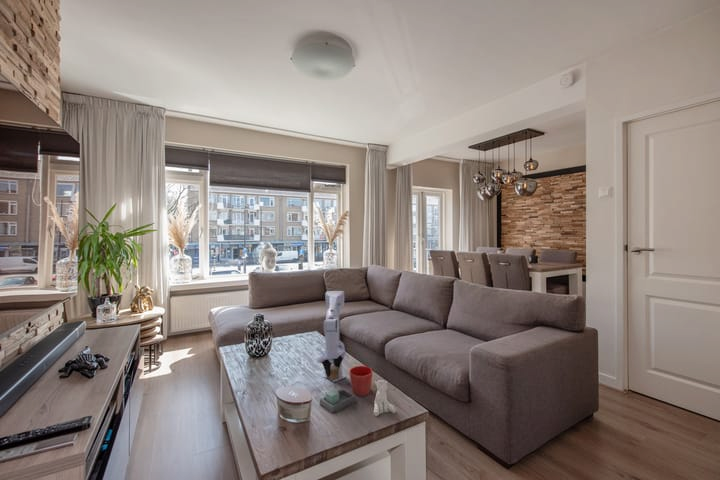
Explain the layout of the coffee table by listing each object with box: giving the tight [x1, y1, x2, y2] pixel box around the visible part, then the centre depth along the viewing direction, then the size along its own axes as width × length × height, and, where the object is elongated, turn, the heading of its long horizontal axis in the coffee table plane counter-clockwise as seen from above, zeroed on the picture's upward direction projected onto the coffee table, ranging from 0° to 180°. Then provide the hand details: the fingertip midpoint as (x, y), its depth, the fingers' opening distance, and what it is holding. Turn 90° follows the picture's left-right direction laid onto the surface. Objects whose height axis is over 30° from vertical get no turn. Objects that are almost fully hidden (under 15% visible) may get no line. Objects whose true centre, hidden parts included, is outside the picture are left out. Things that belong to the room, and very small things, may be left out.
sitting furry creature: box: [373, 379, 397, 417], centre depth 130 cm, size 10×9×12 cm
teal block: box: [325, 389, 339, 405], centre depth 134 cm, size 4×4×5 cm
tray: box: [319, 388, 357, 414], centre depth 136 cm, size 9×13×2 cm
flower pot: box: [349, 365, 373, 396], centre depth 145 cm, size 11×11×10 cm
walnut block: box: [326, 365, 339, 382], centre depth 145 cm, size 4×4×5 cm
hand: (332, 374), depth 145 cm, fingers closed on walnut block, 4 cm apart
